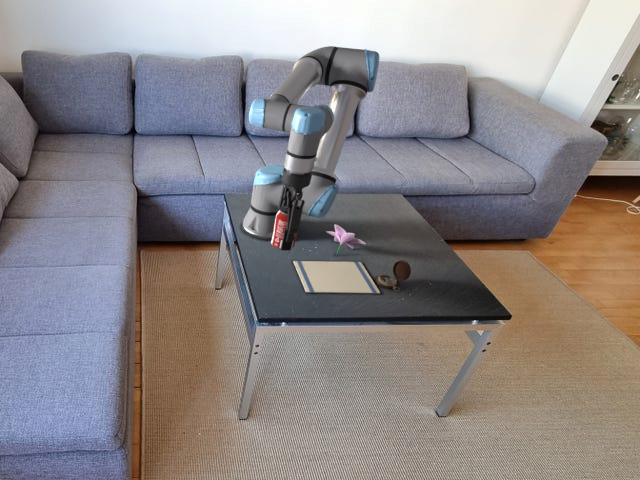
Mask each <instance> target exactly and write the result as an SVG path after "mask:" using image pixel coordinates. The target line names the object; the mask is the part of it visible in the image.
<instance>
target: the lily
mask: <svg viewBox="0 0 640 480" xmlns="http://www.w3.org/2000/svg"><path fill="white" fill-rule="evenodd" d="M325 233H326V234H329V235H331V236H332V237H334V238H333V241H334V242H335V243H336V242H337V243H340V244H339V246H338V249H337V251H336V254H335V255H336V256H338V254H339V250H340V248H341V246H342V245H344V244H346V245H347V246H349V248H350V249H352V250H353V249H354V244H359V245H360V244H361V245H367V243H366V242H365V241H363V240H362V239H359V238H358V237H355V236H356V233H354V232H347V231H346V230H345V229H344V228H343V227H341V226H340V225H338V224H334V231H329V230H326V231H325Z"/></svg>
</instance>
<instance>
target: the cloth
mask: <svg viewBox="0 0 640 480" xmlns="http://www.w3.org/2000/svg"><path fill="white" fill-rule="evenodd" d="M292 262H293V265H294V267H295V269H296V271H297V272H296V273H297V274H298V277H299V279H300V281H301V284H302V286H303V288H304V291H305V293H306V294H307V293H310V294H311V293H313V294H314V293H316V294H372V295H373V294H379V295H380V294H381V291H380V290H379V288H378V286H377V285H376V284H375V282H374V281H373V279H372V277H371V276H370V274H369V272H368V270H367V269H366V268H365V266H364V265H363V263H362V261H328V260H327V261H325V260H324V261H322V260H321V261H319V260H318V261H317V260H314V261H313V260H293V261H292Z"/></svg>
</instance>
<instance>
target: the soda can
mask: <svg viewBox="0 0 640 480" xmlns="http://www.w3.org/2000/svg"><path fill="white" fill-rule="evenodd" d="M287 217H288V207H287V206H282V207H281V208H280V210H279V211H278V212H277V214H276V219H275V224H274V229H273V235H272V240H270V244H271V246H272V247H273V248H275V249H276V250H279V251H286V250H281V245H282V241H283V236H284V229H286V227H287ZM297 236H298V233H294V238H293V242H292V247H291V250H293V249H294V248H295V244H296V240H297Z"/></svg>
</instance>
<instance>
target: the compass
mask: <svg viewBox="0 0 640 480" xmlns="http://www.w3.org/2000/svg"><path fill="white" fill-rule="evenodd" d="M411 273H412V268H411V265H410V263H408V261H406V260H405V259H401V260H396V261H395V262H394V263H393V265H392V275H393V276H392V275H389V274H379V275H377V276H376V278H375V282H376V283H377V284H378V285H379V286H380V287H382V288H385V289H391V290H394V291H397V292H399V291H400V290H401V289H400V288H399V287H398V286H399V281H406V280H408V279H409V278H410V276H411ZM396 289H397V290H396Z"/></svg>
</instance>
